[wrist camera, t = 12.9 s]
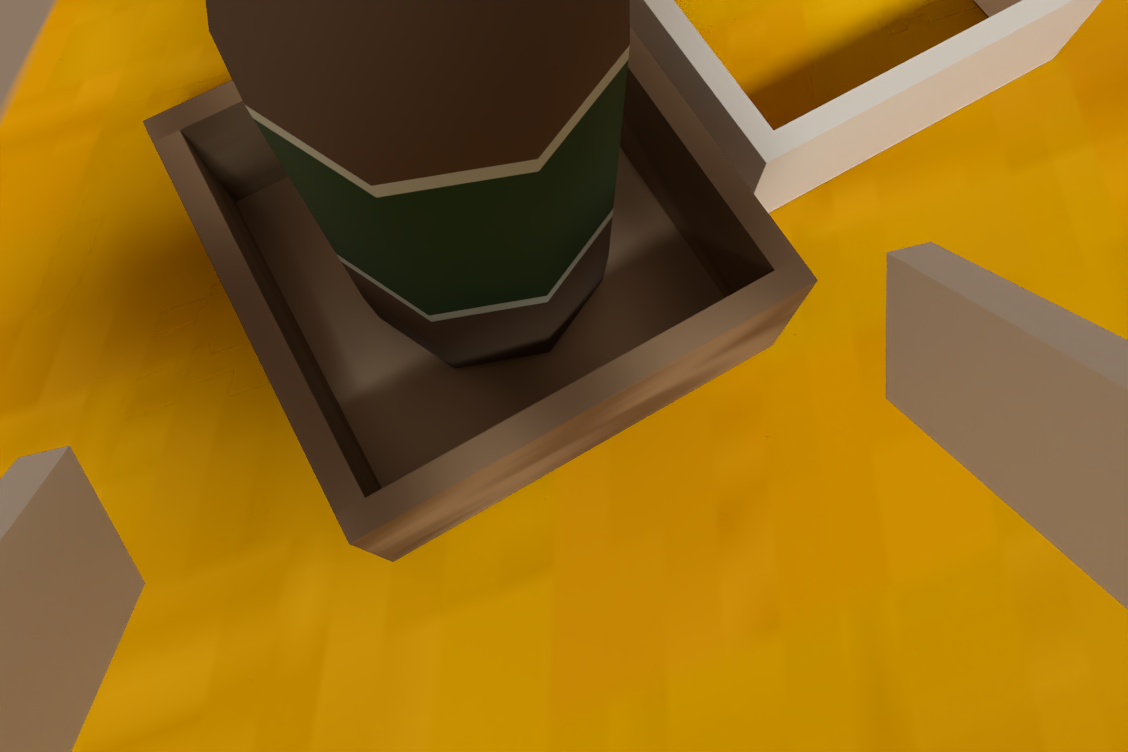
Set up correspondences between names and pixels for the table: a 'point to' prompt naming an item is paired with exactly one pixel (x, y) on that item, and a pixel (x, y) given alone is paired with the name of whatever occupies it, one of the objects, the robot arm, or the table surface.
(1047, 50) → the white corral
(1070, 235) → the table surface
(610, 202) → the beer bottle
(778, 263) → the wooden bin
